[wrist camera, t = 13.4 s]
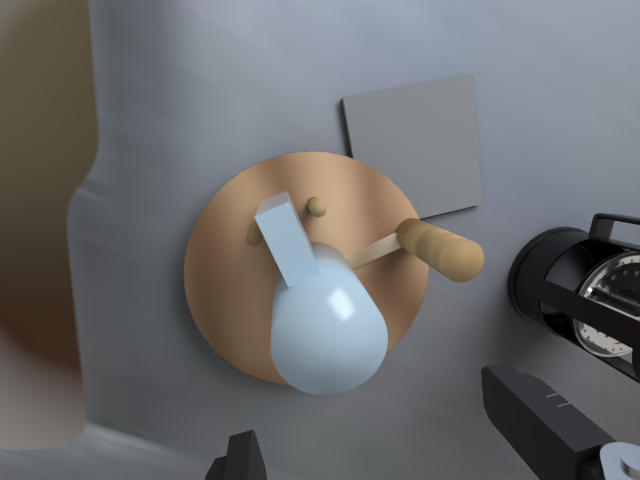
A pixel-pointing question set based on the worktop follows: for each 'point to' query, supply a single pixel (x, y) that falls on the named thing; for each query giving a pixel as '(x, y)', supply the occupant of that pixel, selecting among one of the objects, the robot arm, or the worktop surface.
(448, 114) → the slate mat
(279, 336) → the pale blue carafe
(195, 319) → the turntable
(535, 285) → the french press
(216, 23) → the worktop surface
